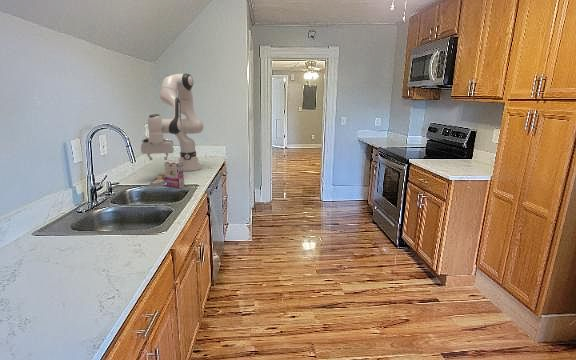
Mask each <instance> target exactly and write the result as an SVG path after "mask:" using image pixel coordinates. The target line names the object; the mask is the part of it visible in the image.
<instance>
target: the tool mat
mask: <svg viewBox="0 0 576 360" xmlns="http://www.w3.org/2000/svg"><path fill="white" fill-rule="evenodd" d="M154 180H157V177H155V178H154V179H153V180H152V181H151V182H150V183H149V184H148V185H147V187H163V186H165V185H166V184H167V183H166V176H165V178H164V182H163V183H162V184H152V182H153V181H154Z"/></svg>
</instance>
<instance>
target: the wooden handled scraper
mask: <svg viewBox="0 0 576 360" xmlns="http://www.w3.org/2000/svg"><path fill="white" fill-rule="evenodd" d="M165 177H166V173H160V174H158V175H157V180H154V179H153V180H154V181H153V180H152V181H153V182H152V181H151V182H152V184H162V183H163V182H164V178H165Z"/></svg>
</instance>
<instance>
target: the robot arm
mask: <svg viewBox="0 0 576 360" xmlns="http://www.w3.org/2000/svg"><path fill="white" fill-rule="evenodd" d="M161 83H162V84H161V87H160V91H159V98H160V100H161V101H162V102H163V103H164V104H166V105H168V106H170V107H172V118H163V117H161V114H158V113H154V114H149V115H148V117H147V130H148V137H145V138H142V139H141V145H140V152H141V154H143V155H145V154H147V155H146V156H147V157H148V158H149V159H148V160H149V161H153V157H152V156H151V154H153V155H155V154H165V156H164V159H163V160H164V161H168V156H169V154H173V153H174V152H175V149H174V141H173V140H172V139H171V138H169V139H167V138H165V137H164V134H171V135H175V137H176V139H177V140H178V143H179V149H180V151H179V155H180V158H178V162H183V172H192V171H197V170H202V165H201V164H200V162H199V158H198V157H197V150H196V143H195V140H194V139H193V138H190V137H189V136H188V134H190V135H191V134H192V135H193V134H199V133H202V132H203V131H204V123H203V121H202V120H201V119H200V118H198V117H197V115H196V114H195V111H194V98H193V97H194V96H193V91H192V88H193V86H194V79H193V76H192V75H191V74H189V73H175V74H171V75H170V74H169V75H166V76H165V77H164V78H163V80H162V82H161ZM181 115H183V116H185V118H182V116H181Z"/></svg>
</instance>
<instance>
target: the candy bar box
mask: <svg viewBox="0 0 576 360" xmlns="http://www.w3.org/2000/svg"><path fill="white" fill-rule="evenodd" d="M164 168H165V169H164V171H165V177H166V183H165V184H166V187H168V188H169V187H170V188H175V189H182V188H184V187H186V185H185V177H184V171H183V162H179V161H176V160H175V161H173V160H166V161H164Z"/></svg>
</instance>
